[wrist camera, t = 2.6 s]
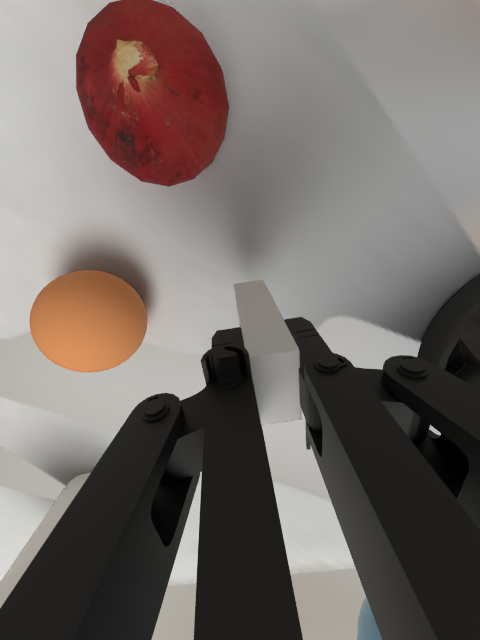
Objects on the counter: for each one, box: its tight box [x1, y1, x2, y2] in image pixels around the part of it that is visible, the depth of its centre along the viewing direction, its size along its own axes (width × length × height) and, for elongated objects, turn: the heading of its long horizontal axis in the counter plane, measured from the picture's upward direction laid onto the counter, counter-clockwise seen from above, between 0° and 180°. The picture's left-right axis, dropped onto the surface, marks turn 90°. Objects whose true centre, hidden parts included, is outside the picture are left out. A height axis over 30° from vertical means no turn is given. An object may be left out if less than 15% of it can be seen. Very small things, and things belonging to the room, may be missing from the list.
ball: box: [30, 270, 147, 372], centre depth 16 cm, size 6×6×6 cm
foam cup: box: [0, 472, 91, 608], centre depth 21 cm, size 10×9×13 cm
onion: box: [76, 0, 229, 186], centre depth 11 cm, size 6×6×8 cm
